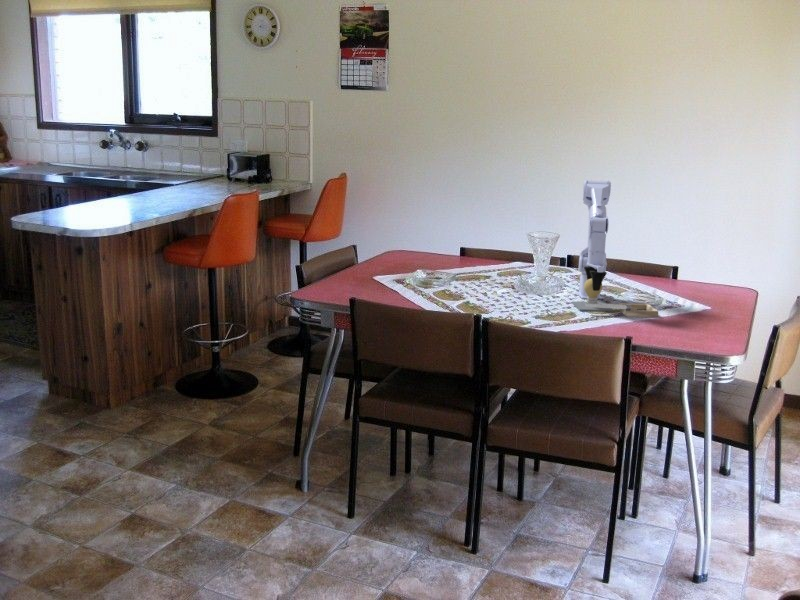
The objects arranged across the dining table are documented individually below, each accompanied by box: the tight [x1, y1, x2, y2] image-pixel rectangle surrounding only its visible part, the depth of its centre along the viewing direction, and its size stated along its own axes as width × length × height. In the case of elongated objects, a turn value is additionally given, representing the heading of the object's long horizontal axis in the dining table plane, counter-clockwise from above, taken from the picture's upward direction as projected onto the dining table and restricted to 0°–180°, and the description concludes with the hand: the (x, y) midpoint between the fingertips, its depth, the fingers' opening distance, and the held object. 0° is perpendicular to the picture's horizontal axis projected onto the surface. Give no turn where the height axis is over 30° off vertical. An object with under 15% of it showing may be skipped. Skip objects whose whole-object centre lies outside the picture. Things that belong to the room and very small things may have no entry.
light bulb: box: [584, 278, 603, 303], centre depth 303 cm, size 6×6×10 cm
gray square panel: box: [571, 301, 614, 312], centre depth 305 cm, size 12×12×1 cm
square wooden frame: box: [617, 303, 659, 318], centre depth 297 cm, size 11×11×2 cm
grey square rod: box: [585, 303, 632, 310], centre depth 293 cm, size 15×2×2 cm, turn 82°
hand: (593, 288), depth 303 cm, fingers closed on light bulb, 6 cm apart
